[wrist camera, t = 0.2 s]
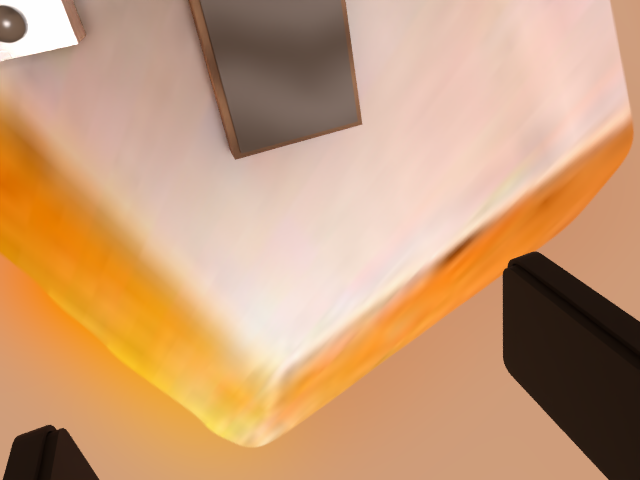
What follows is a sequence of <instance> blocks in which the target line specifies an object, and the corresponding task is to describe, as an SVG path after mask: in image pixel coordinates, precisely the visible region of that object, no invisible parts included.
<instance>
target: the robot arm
mask: <svg viewBox="0 0 640 480" xmlns="http://www.w3.org/2000/svg"><path fill="white" fill-rule="evenodd" d="M503 360H504V364H505V366H506V368H507V370H508V372H509V373H510V374H511V375H512V376H513V377H514V379H515V380H516V381H517V382H518V383H519V384H520V385H521V386H522V387H523V388H524V389H525V390H526V391H527V392H528V394H529V395H530V396H531V397H532V398H533V399H534V400H535V401H536V402H537V403H538V404H539V405H540V406H541V407H542V408H543V410H544V411H545V412H546V413H547V414H548V415H549V416H550V417H551V418H552V419H553V420H554V421H555V423H556V424H557V425H558V426H559V427H560V428H561V429H562V430H563V431H564V432H565V433H566V434H567V435H568V436H569V438H570V439H571V440H572V441H573V442H574V443H575V444H576V445H577V446H578V447H579V448H580V449H581V450H582V451H583V453H584V454H585V455H586V456H587V457H588V458H589V459H590V460H591V461H592V462H593V463H594V464H595V465H596V467H598V469H599V470H600V471H601V472H602V473H603V474H604V475H605V476H606V477H607V478H608V479H609V480H640V322H639V321H638V320H636V319H635V318H633V317H632V316H631V315H629V314H628V313H626V312H625V311H623V310H622V309H620V308H619V307H618V306H616V305H615V304H613V303H612V302H610V301H609V300H607V299H606V298H605V297H603V296H602V295H600V294H599V293H597V292H596V291H594V290H593V289H591V288H590V287H589V286H587V285H586V284H584V283H583V282H581V281H580V280H578V279H577V278H575V277H574V276H573V275H571V274H570V273H568V272H567V271H565V270H564V269H563V268H561V267H560V266H558V265H557V264H555V263H554V262H552V261H551V260H549V259H548V258H546V257H545V256H544V255H542V254H541V253H539V252H531V253H528V254H525V255H523V256H520V257H517V258H514V259H512V260H510V261H509V263H508V268H506V269H504V271H503ZM3 480H99V479H98V477H97V476H96V474H95V472H94V471H93V469H92V468H91V466H90V465H89V463H88V462H87V460H86V459H85V457H84V456H83V454H82V453H81V451H80V450H79V448H78V447H77V445H76V444H75V442H74V441H73V439H72V437H71V436H70V434H69V433H68V432H67V430H66V429H64V428H62V429H59V430H56V428H55V427H54V426H52V425H47V426H44V427H41V428H38V429H36V430H33V431H30V432H28V433H24V434H22V435H19V436H17V437H16V438H15V439H14V442H13V444H12V448H11V452H10V456H9V459H8V463H7V466H6V470H5V474H4V477H3Z"/></svg>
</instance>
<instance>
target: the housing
mask: <svg viewBox="0 0 640 480" xmlns="http://www.w3.org/2000/svg"><path fill="white" fill-rule="evenodd" d="M85 36H86V33H85V31H84V28H83V26H82V23H81V20H80V18H79V15H78V13H77V10H76V7H75V5H74V2H73V0H0V61H4V60H8V59H13V58H17V57H22V56H26V55H31V54H35V53H40V52H44V51H49V50H53V49H58V48H62V47H67V46H71V45H76V44H78V43H79V42H80V41H81V40H82V39H83V38H84V37H85Z"/></svg>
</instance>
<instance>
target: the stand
mask: <svg viewBox="0 0 640 480" xmlns="http://www.w3.org/2000/svg"><path fill="white" fill-rule="evenodd" d="M188 1H189V4H190V8H191V12H192V15H193V19H194V22H195V26H196V30H197V33H198V37H199V40H200V44H201V47H202V51H203V55H204V58H205V62H206V65H207V69H208V72H209V76H210V80H211V83H212V87H213V90H214V94H215V98H216V101H217V105H218V108H219V112H220V115H221V119H222V123H223V126H224V130H225V133H226V137H227V141H228V144H229V148H230V151H231V153H232V155H233V156H234V158H235V159H239V158H243V157H246V156H250V155H253V154H257V153H261V152H264V151H268V150H271V149H275V148H279V147H282V146H286V145H289V144H293V143H297V142H300V141H304V140H307V139H311V138H315V137H318V136H322V135H325V134H329V133H333V132H336V131H340V130H343V129H347V128H351V127H354V126H358V125H361V124H362V120H361V112H360V105H359V98H358V90H357V83H356V76H355V69H354V61H353V54H352V47H351V39H350V32H349V25H348V17H347V10H346V3H345V0H188Z"/></svg>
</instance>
